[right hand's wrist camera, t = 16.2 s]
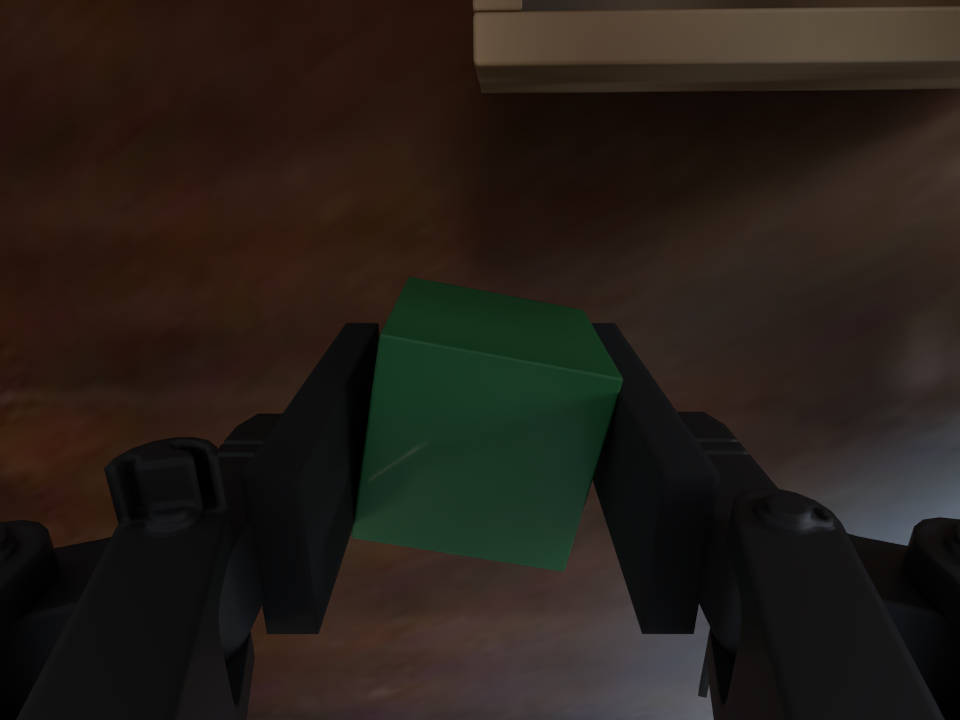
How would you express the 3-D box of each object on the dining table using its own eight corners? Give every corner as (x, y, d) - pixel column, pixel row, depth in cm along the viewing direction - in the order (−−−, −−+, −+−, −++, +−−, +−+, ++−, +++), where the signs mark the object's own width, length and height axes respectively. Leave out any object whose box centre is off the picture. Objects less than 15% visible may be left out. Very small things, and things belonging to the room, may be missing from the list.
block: (383, 433, 15) (350, 538, 11) (408, 275, 14) (379, 334, 10) (543, 460, 15) (564, 572, 11) (584, 309, 14) (624, 378, 10)
